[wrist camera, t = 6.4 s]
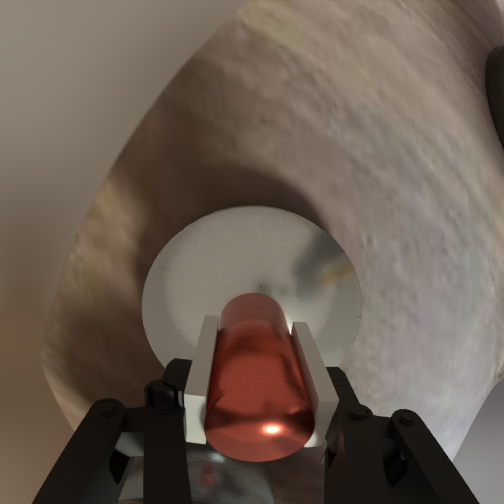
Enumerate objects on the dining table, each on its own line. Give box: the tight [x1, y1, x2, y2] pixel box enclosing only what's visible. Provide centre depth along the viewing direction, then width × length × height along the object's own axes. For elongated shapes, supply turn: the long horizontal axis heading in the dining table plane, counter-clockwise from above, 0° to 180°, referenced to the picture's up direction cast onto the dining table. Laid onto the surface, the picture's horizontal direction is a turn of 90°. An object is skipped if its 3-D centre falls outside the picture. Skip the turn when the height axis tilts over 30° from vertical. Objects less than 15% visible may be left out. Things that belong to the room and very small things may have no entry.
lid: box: [142, 205, 362, 462], centre depth 14 cm, size 14×14×10 cm
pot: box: [117, 439, 390, 504], centre depth 19 cm, size 14×23×11 cm, turn 84°
